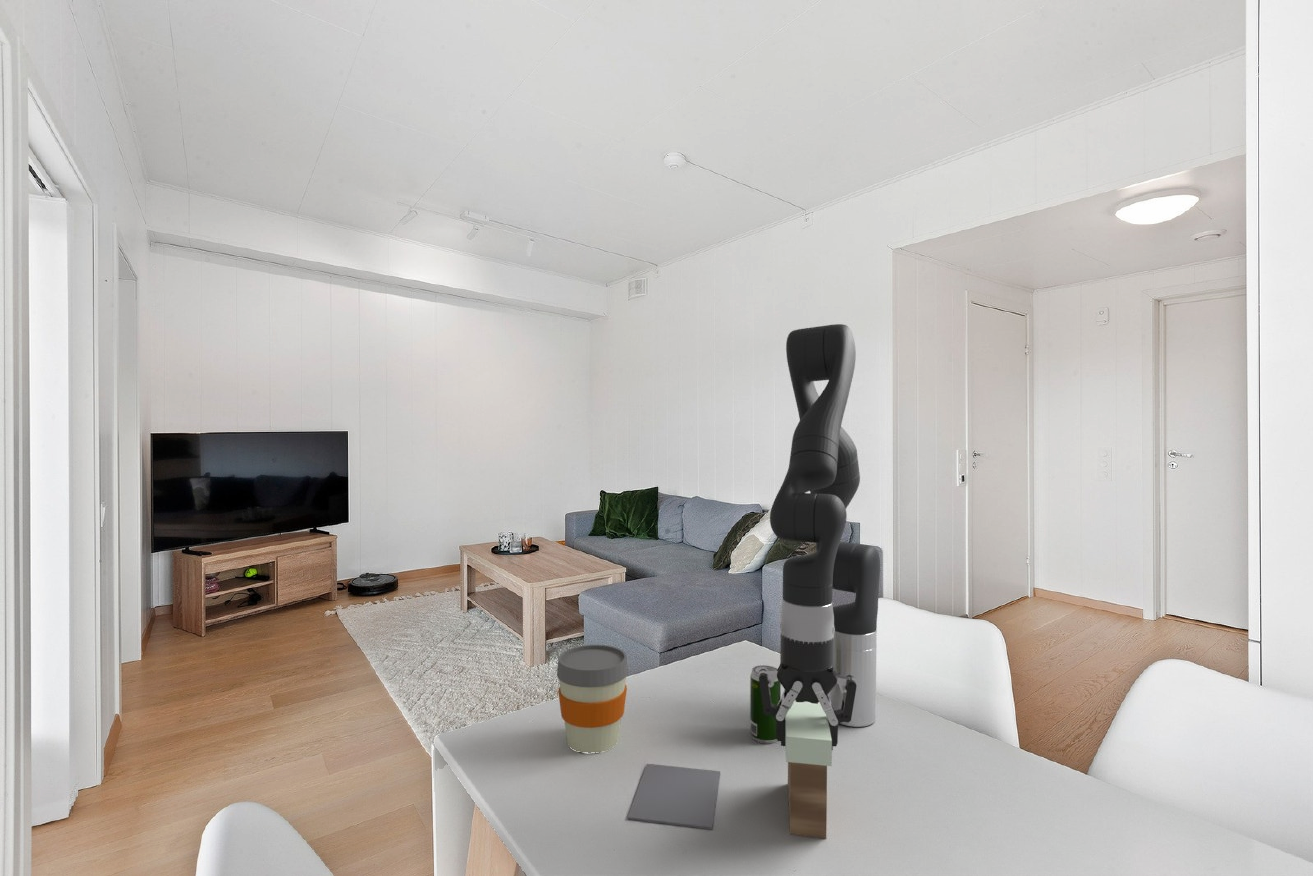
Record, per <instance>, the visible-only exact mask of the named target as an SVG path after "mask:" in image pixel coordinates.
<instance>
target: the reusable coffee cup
mask: <svg viewBox="0 0 1313 876" xmlns="http://www.w3.org/2000/svg"><path fill="white" fill-rule="evenodd" d="M627 657H628V656H627V653H626V651H624V650H623V649H621V648H619V647H616V646H612V645H609V644H608V645H607V644H606V645H605V644H587V645H586V644H585V645H579V646H575V647H571V648H569V649H567V650H564V651H563V652H561V653H560V654H559V656H558V660H557V662H558V663H557V669H556V677H557V679H558V681H559V687H558V700H559V708H560V714H561V715H560V716H561V719H562V720H563V721H564V727H565V735H566V743H568V744H567V746H568V747H569V746H570V747H571V748H572V749H574V750H576V751H580V752H588V753H591V752H595V753H596V752H602V751H606V750H609V749H611V748H612V747H613V746H615V745H616V746H617V744H618V741H619V737H620V736H619V735H620V727H621V720H622V717H623V716H624V713H625V705H626V699H627V697H626V696H627V690H628V687H627V684H626V679H627V676H628V675H629V665H628V658H627ZM616 743H617V744H616ZM616 746H615V747H616ZM572 749H571V750H572ZM612 749H613V748H612ZM612 749H611V750H612ZM609 751H610V750H609ZM606 752H607V751H606Z"/></svg>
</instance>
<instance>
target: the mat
mask: <svg viewBox="0 0 1313 876" xmlns="http://www.w3.org/2000/svg"><path fill="white" fill-rule="evenodd" d="M720 776H721V771H719V770H713V769H703V768H702V769H701V768H693V767H692V768H691V767H683V766H672V765H664V764H653V763H646V766H645V768H644V771H643V773H642V776H641V779H640V782H639V785H638V787H637V791H636V793H635V797H634V799H633V801H632V805H631V807H630V810H629V812H628V816H627V820H631V821H639V822H646V823H647V822H648V823H654V824H655V823H656V824H663V825H672V826H679V827H680V826H681V827H688V828H694V829H695V828H696V829H704V830H713V827H714V826H713V825H714V819H715V812H716V805H717V797H718V790H719V784H720V778H721V777H720Z"/></svg>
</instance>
